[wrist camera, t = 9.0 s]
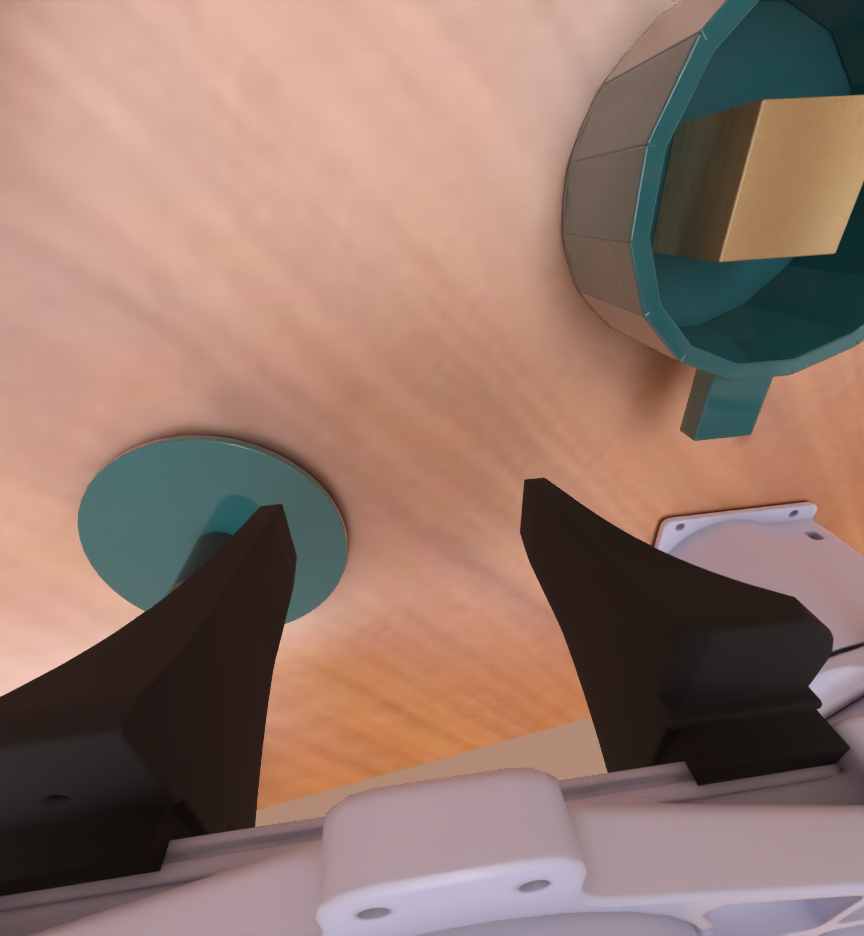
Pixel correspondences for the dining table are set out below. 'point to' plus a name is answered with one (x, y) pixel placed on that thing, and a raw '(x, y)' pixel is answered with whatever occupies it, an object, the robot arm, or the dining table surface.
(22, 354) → the dining table surface
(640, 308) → the pot
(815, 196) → the block
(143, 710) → the robot arm
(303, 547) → the lid
